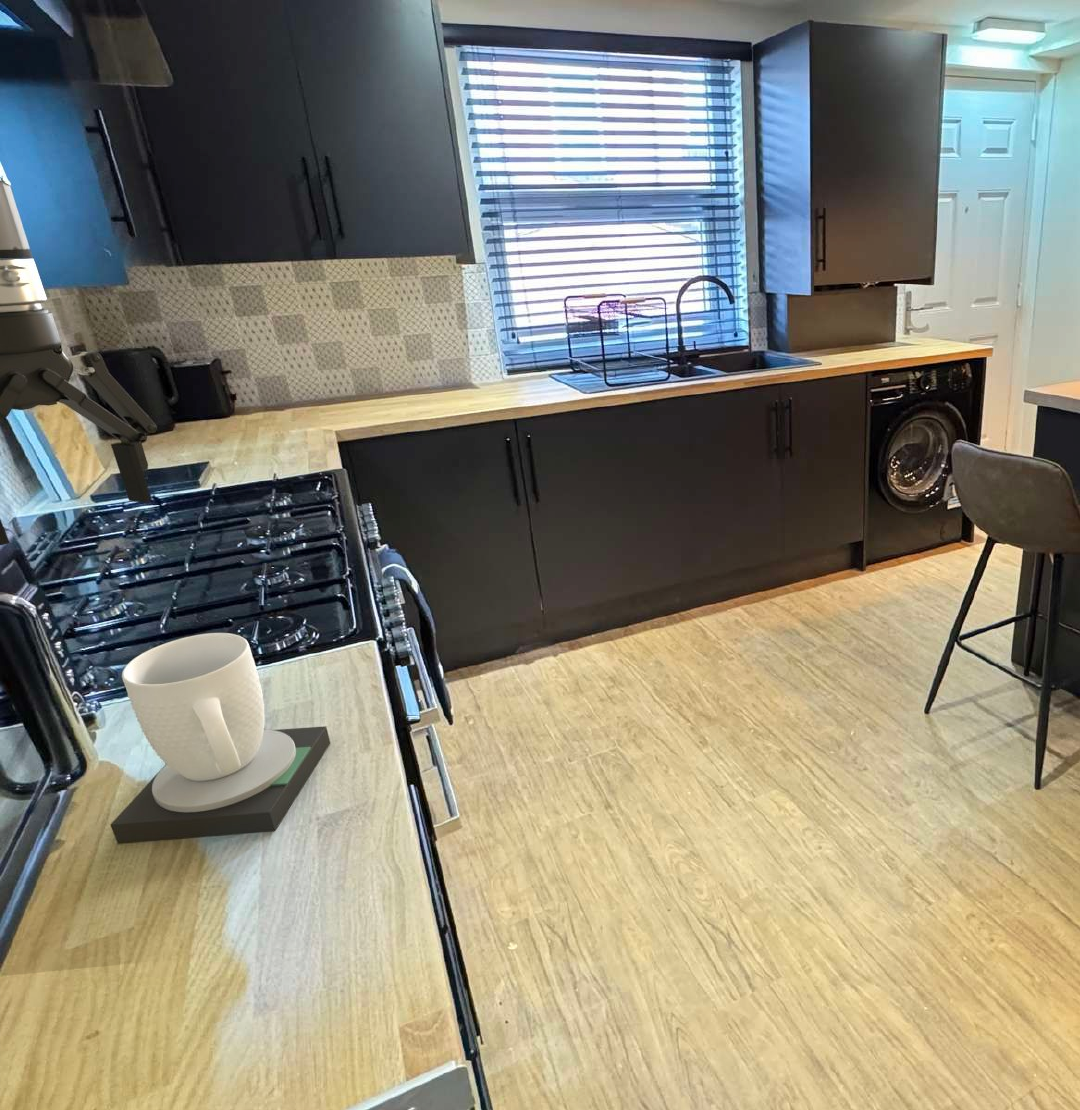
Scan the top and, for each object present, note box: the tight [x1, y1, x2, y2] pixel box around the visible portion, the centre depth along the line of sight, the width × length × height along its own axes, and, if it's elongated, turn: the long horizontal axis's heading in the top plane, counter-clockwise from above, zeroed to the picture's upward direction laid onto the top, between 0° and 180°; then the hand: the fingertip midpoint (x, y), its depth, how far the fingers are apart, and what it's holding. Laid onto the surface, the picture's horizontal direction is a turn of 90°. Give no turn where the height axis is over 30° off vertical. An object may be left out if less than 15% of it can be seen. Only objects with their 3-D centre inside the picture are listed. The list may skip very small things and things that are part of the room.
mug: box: [121, 632, 266, 781], centre depth 81 cm, size 15×11×13 cm
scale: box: [110, 725, 331, 845], centre depth 85 cm, size 15×15×3 cm
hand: (73, 520), depth 81 cm, fingers open, 13 cm apart
